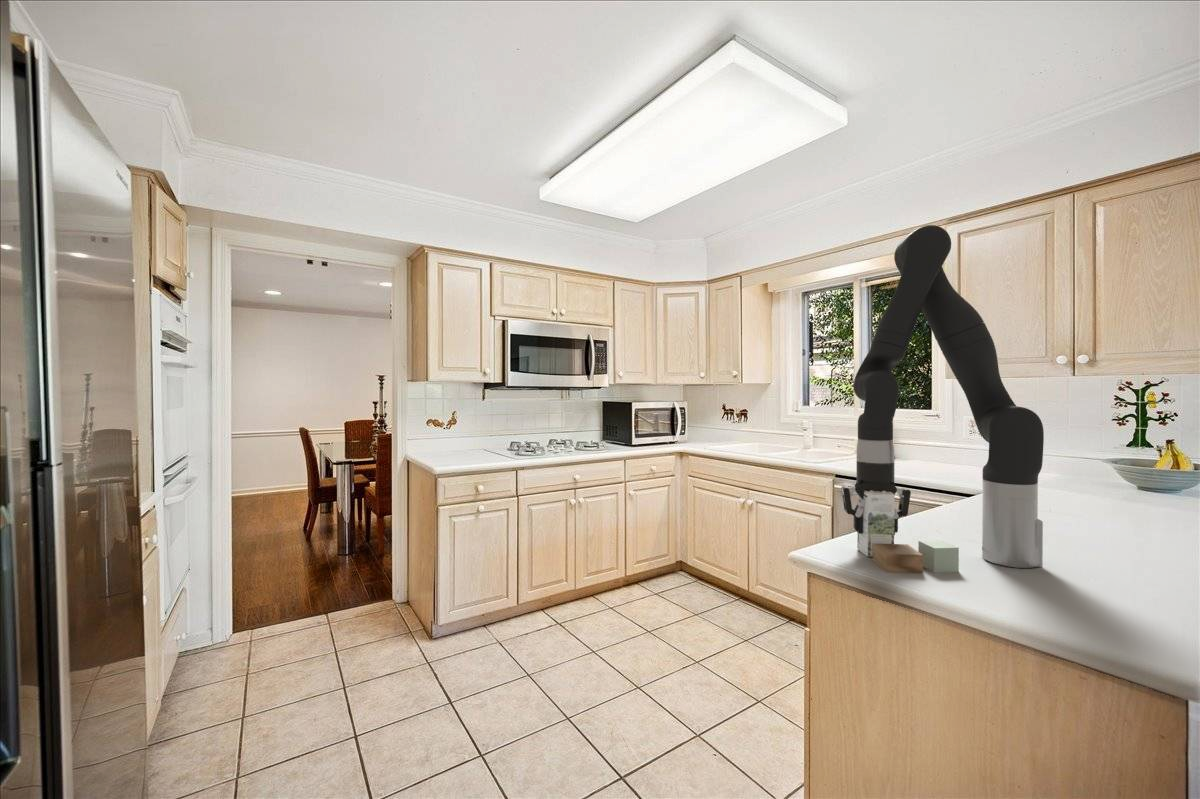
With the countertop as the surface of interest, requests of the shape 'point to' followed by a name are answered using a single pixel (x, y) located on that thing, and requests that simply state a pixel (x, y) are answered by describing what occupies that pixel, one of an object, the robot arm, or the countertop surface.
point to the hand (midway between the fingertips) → (875, 533)
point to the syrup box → (876, 521)
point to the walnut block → (898, 558)
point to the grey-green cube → (939, 556)
